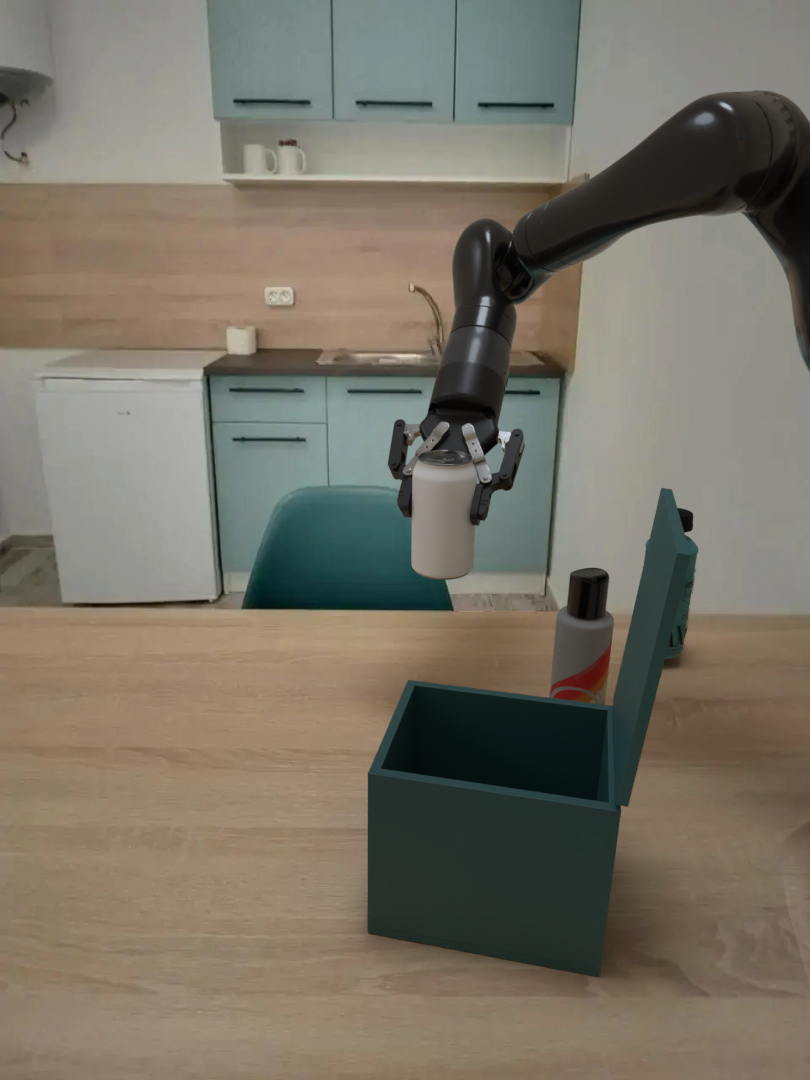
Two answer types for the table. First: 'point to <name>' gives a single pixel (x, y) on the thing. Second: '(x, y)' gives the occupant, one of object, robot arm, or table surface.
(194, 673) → the table surface
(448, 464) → the can
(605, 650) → the lotion bottle
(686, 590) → the beverage bottle
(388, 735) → the dark teal storage box
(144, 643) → the table surface
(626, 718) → the lid
